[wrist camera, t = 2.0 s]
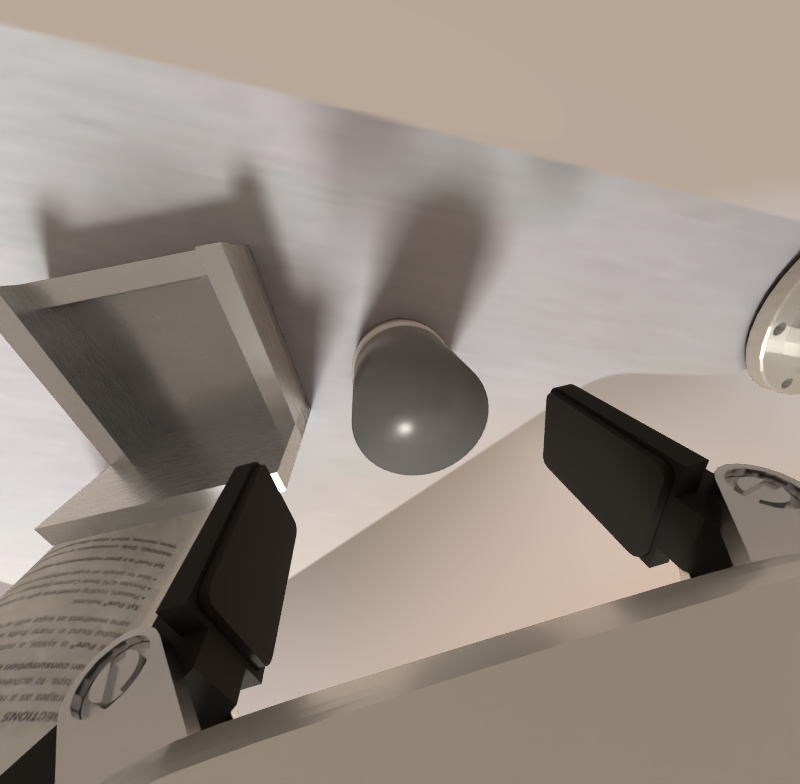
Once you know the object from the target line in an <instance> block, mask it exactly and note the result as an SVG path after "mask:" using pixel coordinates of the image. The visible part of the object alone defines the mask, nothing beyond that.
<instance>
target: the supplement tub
mask: <svg viewBox="0 0 800 784" xmlns="http://www.w3.org/2000/svg"><path fill="white" fill-rule="evenodd" d="M212 509H213V508H209V509H205V510H201V511H196V512H192V513H188V514H184V515H180V516H175V517H171V518H167V519H163V520H158V521H154V522H150V523H146V524H141V525H137V526H133V527H129V528H125V529H120V530H116V531H112V532H108V533H103V534H99V535H95V536H91V537H87V538H82V539H78V540H74V541H70V542H65V543H61V544H57V545H55V546H54V547H53V548H52V549H51V550H49V551H48V552H47V553H46V554H45V555H44V556H43V557H42V558H41V559H40V560H39V561H38V562H37V563H36V564H35V565H34V566H33V567H32V568H31V569H30V570H29V571H28V572H27V573H26V574H25V575H24V576H23V577H22V578H21V579H20V580H19V581H18V582H17V583H16V584H14V585H13V586H12V587H11V588H10V590H8V591H7V592H6V593H5V594H4V595H3V596H2V597H1V598H0V775H1V774H2V773H4V772H5V771H6V770H7V769H8V768H9V767H10V766H11V765H12V764H14V763H15V762H16V761H17V760H18V759H19V758H20V757H21V756H22V755H24V754H25V753H26V752H27V751H28V750H29V749H30V748H31V747H32V746H34V745H35V744H36V743H37V742H38V741H39V740H40V739H41V738H42V737H44V736H45V735H46V734H47V733H48V732H49V731H50V730H51V729H52V728H54V727H55V726H56V725H57V719H58V714H59V710H60V706H61V704H62V702H63V700H64V698H65V696H66V694H67V692H68V690H69V688H70V687H71V685H72V684H73V682H74V681H75V680H76V678H77V677H78V675H79V674H80V673H81V671H82V670H83V669H84V668H85V667H86V666H87V665H88V664H89V663H90V661H91V660H92V659H93V658H94V657H95V656H96V655H97V654H98V653H100V652H101V651H102V650H103V649H104V648H105V647H106V646H107V645H109V644H110V643H111V642H113V641H114V640H116V639H117V638H119V637H120V636H121V635H123V634H125V633H127V632H129V631H131V630H133V629H135V628H139V627H144V626H150V627H152V625H153V623H154V621H155V619H156V617H157V616H158V615H157V614H156V613H155V612H156V610H157V608H158V607H159V605H160V603H161V601H162V599H163V598H164V596H165V594H166V592H167V590H168V588H169V587H170V585H171V583H172V581H173V579H174V578H175V576H176V574H177V572H178V570H179V569H180V567H181V565H182V563H183V561H184V559H185V558H186V556H187V554H188V552H189V550H190V549H191V547H192V545H193V543H194V541H195V539H196V538H197V536H198V534H199V532H200V530H201V529H202V527H203V525H204V523H205V521H206V520H207V518H208V516H209V514H210V512H211V510H212Z"/></svg>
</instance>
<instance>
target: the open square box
mask: <svg viewBox="0 0 800 784" xmlns="http://www.w3.org/2000/svg"><path fill="white" fill-rule="evenodd" d="M195 249H196V250H192V251H187V252H182V253H177V254H172V255H167V256H162V257H157V258H152V259H147V260H142V261H137V262H132V263H127V264H122V265H117V266H112V267H107V268H102V269H97V270H91V271H86V272H81V273H76V274H71V275H66V276H61V277H56V278H51V279H46V280H41V281H36V282H31V283H26V284H21V285H11V286H0V333H1V334H2V336H3V337H4V338H5V339H6V341H7V342H8V343H9V344H10V345H11V347H12V348H13V349H14V350H15V351H16V353H17V354H18V355H19V356H20V357H21V359H22V360H23V361H24V362H25V363H26V365H27V366H28V367H29V368H30V369H31V371H32V372H33V373H34V374H35V375H36V377H37V378H38V379H39V380H40V381H41V383H42V384H43V385H44V386H45V387H46V389H47V390H48V391H49V392H50V393H51V395H52V396H53V397H54V398H55V400H56V401H57V402H58V403H59V404H60V406H61V407H62V408H63V409H64V410H65V412H66V413H67V414H68V415H69V416H70V418H71V419H72V420H73V421H74V422H75V424H76V425H77V426H78V427H79V428H80V430H81V431H82V432H83V433H84V434H85V436H86V437H87V438H88V439H89V440H90V442H91V443H92V444H93V445H94V446H95V448H96V449H97V450H98V451H99V452H100V454H101V455H102V456H103V457H104V459H105V460H106V461H107V462H108V463H109V465H110V466H109V467H108V468H107V469H106V470H105V471H103V472H102V473H101V474H100V475H99V476H97V477H96V478H95V479H94V480H93V481H91V482H90V483H89V484H88V485H87V486H85V487H84V488H83V489H82V490H81V491H79V492H78V493H77V494H76V495H75V496H73V497H72V498H71V499H70V500H69V501H67V502H66V503H65V504H64V505H63V506H61V507H60V508H59V509H58V510H57V511H55V512H54V513H53V514H52V515H51V516H49V517H48V518H47V519H46V520H45V521H43V522H42V523H41V524H40V525H39V526H37V527H36V528H35V529H34V530H35V531H37V532H38V533H39V534H40V535H41V536H42V537H43V538H45V539H46V540H47V541H48V542H49V543H50V544H51V545H57V544H61V543H65V542H70V541H74V540H78V539H82V538H87V537H91V536H95V535H99V534H103V533H108V532H112V531H116V530H120V529H125V528H129V527H133V526H137V525H141V524H146V523H150V522H154V521H158V520H163V519H167V518H171V517H175V516H180V515H184V514H188V513H192V512H196V511H201V510H205V509H209V508H213V507H214V505H215V503H216V501H217V500H218V498H219V496H220V494H221V492H222V490H223V489H224V487H225V485H226V483H227V481H228V480H229V478H230V476H231V474H232V472H233V471H234V469H235V468H236V467H237V466H240V465H244V464H248V463H252V462H258V463H259V464H260V465H265V466H266V467H267V468H268V470H269V472H270V474H271V476H272V478H273V480H274V482H275V484H276V486H277V488H278V490H279V492H281V491H285V490H286V488H287V485H288V481H289V478H290V475H291V472H292V469H293V466H294V462H295V459H296V456H297V453H298V450H299V446H300V443H301V440H302V437H303V434H304V430H305V427H306V424H307V421H308V418H309V414H310V411H311V410H310V407H309V405H308V402H307V399H306V397H305V394H304V391H303V389H302V386H301V383H300V381H299V378H298V375H297V373H296V370H295V367H294V365H293V362H292V359H291V357H290V354H289V351H288V349H287V346H286V344H285V341H284V338H283V336H282V333H281V330H280V328H279V325H278V322H277V320H276V317H275V314H274V312H273V309H272V306H271V304H270V301H269V298H268V296H267V293H266V290H265V288H264V285H263V282H262V280H261V277H260V274H259V272H258V269H257V266H256V264H255V261H254V259H253V256H252V253H251V251H250V248H249V245H241V244H233V243H225V242H217V243H212V244H207V245H202V246H197V247H195Z"/></svg>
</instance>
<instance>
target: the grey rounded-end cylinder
mask: <svg viewBox="0 0 800 784" xmlns="http://www.w3.org/2000/svg"><path fill="white" fill-rule="evenodd" d="M352 382H353V402H352V430H353V434H354V438H355V440H356V443H357V445H358V447H359V448H360V450H361V451H362V453H363V454H364V455H365V456H366V457H367V458H368V459H369V460H370V461H371V462H372V463H374V464H375V465H377V466H378V467H380V468H382V469H384V470H387V471H389V472H393V473H397V474H402V475H424V474H429V473H433V472H437V471H440V470H442V469H445V468H447V467H449V466H451V465H453V464H454V463H456V462H457V461H459V460H460V459H462V458H463V457H464V456H465V455H467V454H468V453H469V451H470V450H471V449H472V448H473V447H474V446H475V445H476V443H477V442H478V440H479V439H480V437H481V435H482V433H483V431H484V429H485V426H486V423H487V418H488V398H487V395H486V391H485V389H484V387H483V384H482V383H481V381H480V380H479V378H478V377H477V376H476V374H475V373H474V372H473V371H472V370H471V369H470V368H469V367H468V366H467V365H466V364H465V363H464V362H463V361H462V360H461V359H459V358H458V357H457V356H456V355H455V354H454V353H453V352H452V351H451V350H450V349H449V348H448V346H447V345H446V343H445V342H444V341H443V340H442V338H441V337H440V336H439V335H438V334H437V333H435V332H434V331H433V330H432V329H431V328H429V327H427V326H426V325H424V324H421V323H419V322H417V321H414V320H410V319H404V318H397V319H390V320H387V321H384V322H381V323H379V324H377V325H376V326H374V327H373V328H371V329H370V330H369V331H368V332H367V333H366V334H365V335H364V336H363V338H362V339H361V340H360V342H359V344H358V346H357V349H356V351H355V354H354V357H353V362H352Z"/></svg>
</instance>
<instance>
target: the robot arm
mask: <svg viewBox="0 0 800 784" xmlns="http://www.w3.org/2000/svg"><path fill="white" fill-rule="evenodd" d="M746 365H747V370H748V373H749V375H750V376H751V378H752V380H753V381H754V382H755V383H756V384H758V385H759V386H760V387H763V388H766V389H769V390H772V391H775V392H777V393H782V394H788V395H794V394H795V395H796V394H800V258H799V259H798V260H797V261H796V262H795V264H794V265H793V266H792V267H791V268H790V269H789V270H788V271H787V272H786V274H785V275H784V276H783V277H782V278H781V279H780V281H779V282H778V283H777V285H776V286H775V287H774V289H773V290H772V292H771V293H770V294H769V296H768V297H767V299H766V300H765V302H764V304H763V306H762V307H761V309H760V311H759V313H758V314H757V316H756V319H755V321H754V324H753V326H752V328H751V331H750V334H749V338H748V342H747V346H746ZM543 459H544V462H545V464H546V466H547V467H548V468H549V469H550V470H551V471H552V472H553V474H554V475H555V476H556V477H557V478H558V479H559V480H560V481H561V482H562V483H563V484H564V485H565V486H566V487H567V488H568V489H569V490H570V491H571V492H572V493H573V495H575V497H576V498H578V499H579V501H580V502H581V503H582V504H583V505H584V506H585V507H586V508H587V509H588V510H589V511H590V512H591V513H592V514H593V515H594V516H595V518H596V519H597V520H598V521H599V522H600V523H601V524H602V525H603V526H604V527H605V528H606V529H607V530H608V531H609V532H610V533H611V534H612V535H613V536H614V538H615V539H616V540H618V542H619V543H620V544H621V545H622V546H623V547H624V548H625V549H626V550H627V551H628V552H629V553H630V554H632V555H633V556H637V557H639V558H640V559H641V560H642V561H643V562H644V563H645V564H646V565H647V566H648V567H649V568H651V567H654V566H658V565H661V564H664V563H668V562H669V559H671V561H672V562H674V563H675V564H676V565H677V566H678V568H679V572H680V576H681V581H680V582H676V583H673V584H669V585H666V586H663V587H659V588H656V589H653V590H649V591H646V592H643V593H639V594H636V595H633V596H629V597H626V598H622V599H619V600H616V601H612V602H609V603H606V604H603V605H599V606H596V607H592V608H589V609H585V610H582V611H579V612H576V613H572V614H569V615H566V616H562V617H559V618H555V619H552V620H549V621H546V622H542V623H539V624H536V625H532V626H529V627H526V628H522V629H519V630H516V631H513V632H509V633H506V634H503V635H499V636H496V637H493V638H490V639H486V640H483V641H480V642H476V643H473V644H470V645H467V646H463V647H460V648H457V649H453V650H451V651H447V652H444V653H441V654H437V655H434V656H431V657H427V658H424V659H421V660H418V661H414V662H411V663H408V664H405V665H402V666H398V667H395V668H392V669H389V670H385V671H382V672H379V673H376V674H372V675H369V676H366V677H363V678H360V679H356V680H353V681H350V682H347V683H343V684H340V685H337V686H334V687H330V688H327V689H324V690H321V691H318V692H314V693H311V694H308V695H305V696H302V697H299V698H296V699H293V700H289V701H286V702H284V703H280V704H277V705H274V706H271V707H269V708H265V709H262V710H259V711H257V712H253V713H250V714H247V715H244V716H242V717H240V716H239V714H238V711H237V709H236V705H237V701H238V697H239V693H240V690H242V689H245V688H248V687H252V686H255V685H259V684H261V683H262V679H263V673H264V669H265V666H267V665H269V664H270V662H271V659H272V656H273V651H274V647H275V642H276V637H277V632H278V626H279V621H280V616H281V611H282V606H283V601H284V595H285V590H286V585H287V580H288V575H289V570H290V565H291V559H292V554H293V549H294V544H295V539H296V533H297V529H296V523H295V521H294V519H293V517H292V515H291V513H290V511H289V509H288V507H287V505H286V503H285V501H284V499H283V497H282V496H281V494H280V492H279V490H278V488H277V486H276V484H275V482H274V480H273V478H272V476H271V474H270V472H269V470H268V468H267V467H266V466H265V465H260V464H259V463H258V462H252V463H248V464H244V465H240V466H237V467H236V468H235V469H234V471H233V472H232V474H231V476H230V478H229V480H228V481H227V483H226V485H225V487H224V489H223V490H222V492H221V494H220V496H219V498H218V500H217V501H216V503H215V505H214V507H213V509H212V510H211V512H210V514H209V516H208V518H207V520H206V521H205V523H204V525H203V527H202V529H201V530H200V532H199V534H198V536H197V538H196V539H195V541H194V543H193V545H192V547H191V549H190V550H189V552H188V554H187V556H186V558H185V559H184V561H183V563H182V565H181V567H180V569H179V570H178V572H177V574H176V576H175V578H174V579H173V581H172V583H171V585H170V587H169V588H168V590H167V592H166V594H165V596H164V598H163V599H162V601H161V603H160V605H159V607H158V608H157V610H156V612H155V613H156V614H157V615H158V616H157V617H156V619H155V621H154V623H153V625H152V627H150V626H144V627H139V628H135V629H133V630H131V631H129V632H127V633H125V634H123V635H121V636H120V637H119V638H117V639H116V640H114V641H113V642H111V643H110V644H109V645H107V646H106V647H105V648H104V649H103V650H102V651H101V652H100V653H98V654H97V655H96V656H95V657H94V658H93V659H92V660H91V661H90V663H89V664H88V665H87V666H86V667H85V668H84V669H83V670H82V671H81V673H80V674H79V675H78V677H77V678H76V680H75V681H74V682H73V684H72V685H71V687H70V688H69V690H68V692H67V694H66V696H65V698H64V700H63V702H62V704H61V706H60V710H59V714H58V719H57V725H56V726H55V727H54V728H52V729H51V730H50V731H49V732H48V733H47V734H46V735H45V736H44V737H42V738H41V739H40V740H39V741H38V742H37V743H36V744H35V745H34V746H32V747H31V748H30V749H29V750H28V751H27V752H26V753H25V754H24V755H22V756H21V757H20V758H19V759H18V760H17V761H16V762H15V763H14V764H12V765H11V766H10V767H9V768H8V769H7V770H6V771H5V772H4V773H2V774H1V775H0V784H800V482H799V481H797V480H795V479H793V478H791V477H788V476H786V475H784V474H782V473H779V472H776V471H772V470H770V469H767V468H763V467H758V466H753V465H747V464H726V465H723V466H721V467H718V468H717V470H716V471H715V472H714V473H712V472H710V471H708V470H707V469H706V467H707V464H708V461H709V460H708V459H706V458H704V457H702V456H701V455H698V454H697V453H695V452H693V451H691V450H689V449H688V448H686V447H684V446H683V445H681V444H679V443H677V442H675V441H674V440H672V439H670V438H668V437H666V436H665V435H663V434H661V433H659V432H657V431H656V430H654V429H652V428H650V427H648V426H647V425H645V424H643V423H641V422H639V421H638V420H636V419H634V418H632V417H631V416H629V415H627V414H625V413H623V412H621V411H620V410H618V409H616V408H614V407H613V406H611V405H609V404H607V403H605V402H604V401H602V400H600V399H598V398H596V397H595V396H593V395H591V394H589V393H587V392H586V391H584V390H582V389H580V388H579V387H577V386H575V385H572V384H569V385H564V386H560V387H556V388H553V389H552V390H551V392H550V394H548V396H547V400H546V418H545V435H544V451H543Z"/></svg>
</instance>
